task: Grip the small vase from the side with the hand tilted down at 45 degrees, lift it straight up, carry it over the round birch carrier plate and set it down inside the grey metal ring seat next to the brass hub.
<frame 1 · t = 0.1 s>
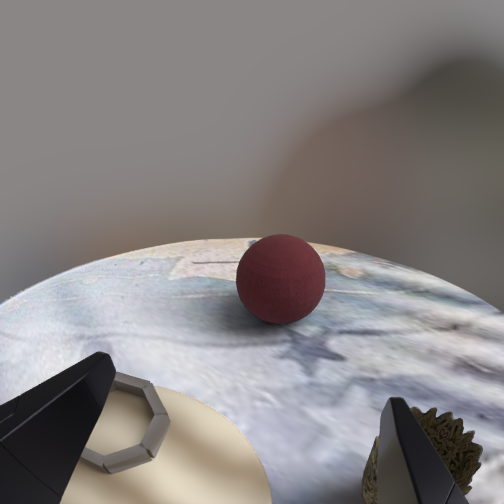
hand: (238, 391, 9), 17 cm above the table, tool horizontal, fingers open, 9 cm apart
cup: (388, 498, 17), on the table
decorative ball: (279, 315, 38), on the table
carrier: (119, 496, 17), on the table
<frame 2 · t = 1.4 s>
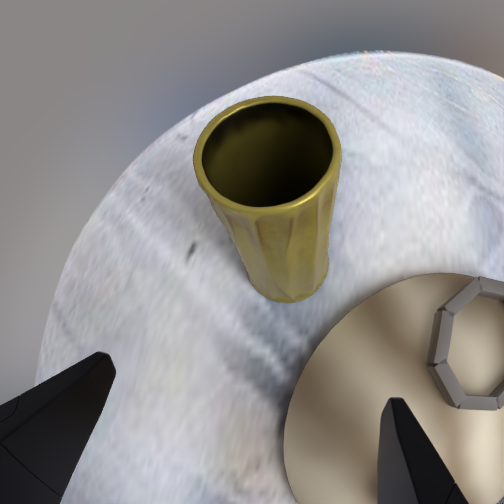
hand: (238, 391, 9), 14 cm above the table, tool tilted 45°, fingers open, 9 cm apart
vase: (287, 263, 24), on the table
carrier: (436, 424, 18), on the table
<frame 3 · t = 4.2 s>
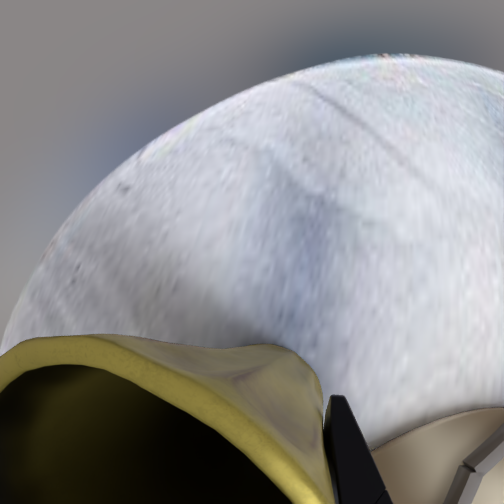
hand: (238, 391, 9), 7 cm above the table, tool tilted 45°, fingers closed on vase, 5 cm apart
vase: (263, 401, 15), on the table, touching gripper
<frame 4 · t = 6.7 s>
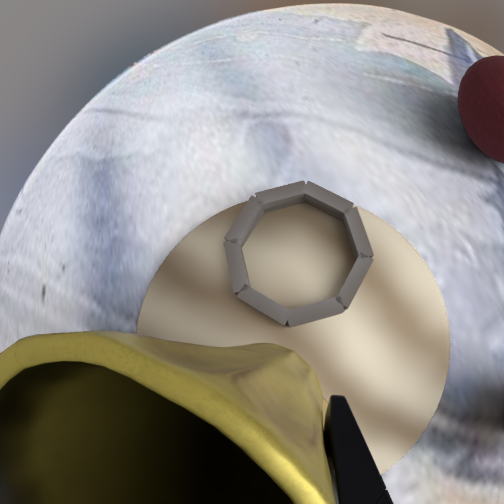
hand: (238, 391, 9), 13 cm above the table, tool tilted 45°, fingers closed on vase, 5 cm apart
vase: (263, 400, 15), point 6 cm above the table, touching gripper
decorative ball: (486, 141, 24), on the table
carrier: (291, 351, 22), on the table
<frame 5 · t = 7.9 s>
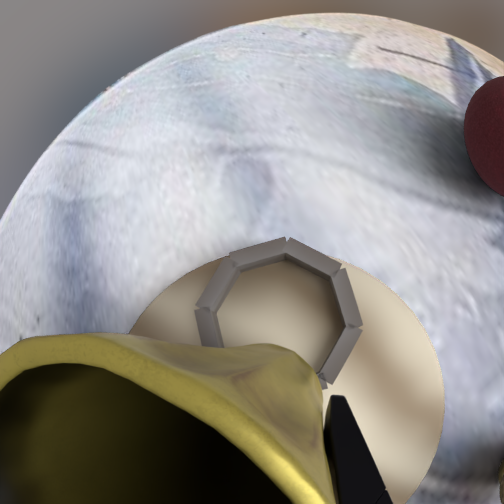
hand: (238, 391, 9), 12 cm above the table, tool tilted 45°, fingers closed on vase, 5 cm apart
vase: (263, 400, 15), point 4 cm above the table, touching gripper
decorative ball: (493, 171, 22), on the table
carrier: (272, 422, 19), on the table
when the fingers open (10 cm above the table, at t = 9.2 s): vase drops 2 cm, resting on carrier.
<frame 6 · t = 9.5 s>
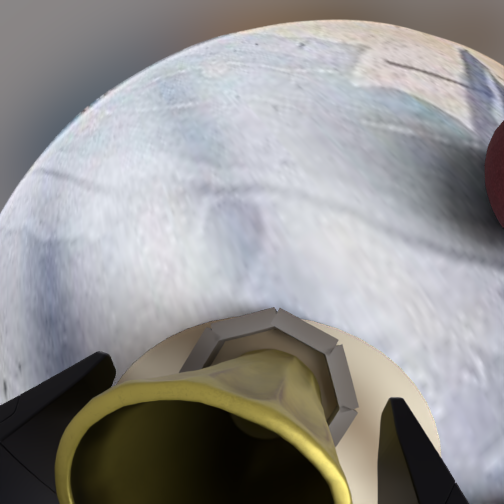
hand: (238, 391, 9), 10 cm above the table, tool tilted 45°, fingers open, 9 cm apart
vase: (267, 400, 17), point 1 cm above the table, touching carrier
carrier: (259, 490, 16), on the table
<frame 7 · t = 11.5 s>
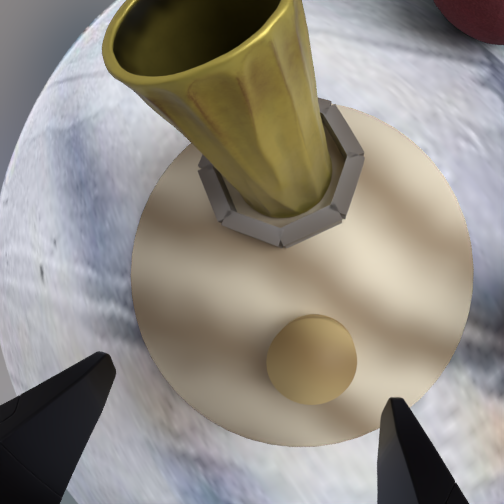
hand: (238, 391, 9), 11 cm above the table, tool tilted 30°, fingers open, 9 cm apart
vase: (283, 171, 20), point 1 cm above the table, touching carrier
decorative ball: (469, 25, 17), on the table
carrier: (295, 275, 20), on the table
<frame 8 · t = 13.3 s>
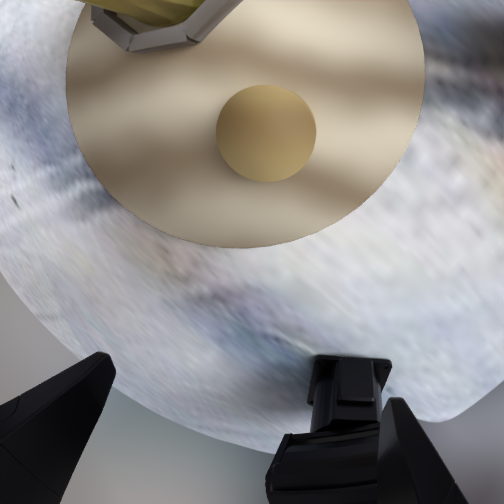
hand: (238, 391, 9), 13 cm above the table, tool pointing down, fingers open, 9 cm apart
carrier: (222, 64, 16), on the table
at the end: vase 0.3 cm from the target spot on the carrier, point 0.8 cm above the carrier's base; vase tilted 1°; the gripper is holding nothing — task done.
